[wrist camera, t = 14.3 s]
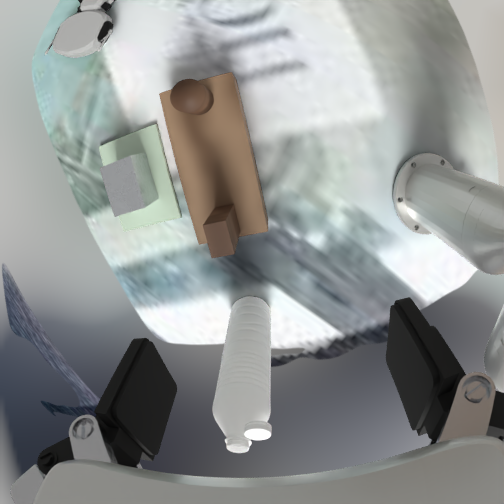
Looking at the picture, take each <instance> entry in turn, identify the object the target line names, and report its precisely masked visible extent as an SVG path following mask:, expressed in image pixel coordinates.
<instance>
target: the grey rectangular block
mask: <svg viewBox="0 0 504 504" xmlns="http://www.w3.org/2000/svg"><path fill="white" fill-rule="evenodd" d="M100 171H101V174H102V178H103V181H104V185H105V188H106V191H107V194H108V198H109V201H110V204H111V207H112V210H113V213H114V216H115V217H116V216H119V215H122V214H126V213H129V212H132V211H136V210H139V209H142V208H146V207H147V206H148V205H150V204H151V203H153V202H155V201H156V200H158V199H159V197H158V193H157V190H156V187H155V183H154V180H153V176H152V173H151V169H150V166H149V162H148V158H147V155H146V152H145V153H140V154H136V155H131V156H128V157H125V158H123V159H120V160H118V161H115V162H113V163H111V164H108V165H106V166H103V167H101V168H100Z"/></svg>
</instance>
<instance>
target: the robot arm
mask: <svg viewBox="0 0 504 504" xmlns="http://www.w3.org/2000/svg"><path fill="white" fill-rule="evenodd" d="M411 164H412V166H411ZM398 198H399V199H398ZM393 202H394V207H395V210H396V213H397V215H398V217H399V219H400V220H401V222H402V223H403V224H404V225H405V226H406V227H408V228H409V229H410V230H412V231H413V232H415V233H419V234H431V233H432V234H434V235H435V236H437V237H438V238H439V239H441V240H442V241H443V242H444V243H446V244H447V245H448V246H450V247H451V248H452V249H453V250H455V251H456V252H457V253H459V254H460V255H461V256H462V257H463V258H465V259H466V260H467V261H468V262H470V263H471V264H472V265H473V266H475V267H476V268H477V269H479V270H480V271H482V272H484V273H486V274H491V275H499V274H504V187H503V186H500V185H497V184H495V183H492V182H489V181H486V180H483V179H481V178H478V177H475V176H472V175H469V174H466V173H462V172H459V171H456V170H454V168H453V167H452V165H451V164H450V163H449V162H448V161H447V160H446V159H445V158H443V157H441V156H439V155H436V154H432V153H421V154H418V155H415V156H413V157H412V158H410V159H409V160H408V161H407V162H406V163H405V164H404V165H403V166H402V168H401V169H400V171H399V173H398V175H397V177H396V180H395V183H394V190H393ZM386 362H387V365H388V367H389V370H390V372H391V375H392V377H393V380H394V382H395V385H396V387H397V390H398V392H399V395H400V398H401V401H402V403H403V406H404V409H405V411H406V414H407V417H408V420H409V423H410V426H411V428H412V430H417V433H418V435H419V436H420V435H423V434H425V433H427V434H428V436H429V438H430V439H431V440H430V443H429V445H428V446H426V447H422V448H419V449H416V450H412V451H409V452H406V453H403V454H400V455H396V456H393V457H389V458H386V459H382V460H378V461H374V462H370V463H366V464H362V465H357V466H352V467H347V468H343V469H338V470H332V471H325V472H319V473H311V474H303V475H294V476H282V477H267V478H216V477H200V476H187V475H178V474H170V473H163V472H157V471H150V470H145V469H142V467H141V465H140V463H139V461H140V458H141V459H144V460H149V461H153V459H154V456H155V455H157V454H158V452H159V449H160V445H161V442H162V438H163V435H164V432H165V428H166V425H167V422H168V418H169V415H170V412H171V408H172V405H173V402H174V398H175V395H176V392H177V385H176V383H175V381H174V380H173V378H172V376H171V375H170V373H169V371H168V370H167V368H166V366H165V364H164V363H163V360H162V359H161V357H160V355H159V353H158V352H157V350H156V348H155V346H154V344H153V343H152V342H151V341H149V340H148V339H147V338H141V339H133V341H132V342H131V344H130V346H129V348H128V349H127V351H126V353H125V354H124V356H123V358H122V360H121V362H120V364H119V366H118V367H117V369H116V371H115V373H114V375H113V377H112V378H111V380H110V382H109V384H108V386H107V388H106V390H105V392H104V394H103V396H102V397H101V399H100V401H99V403H98V405H97V407H96V409H95V411H94V412H95V413H96V417H95V418H94V417H93V416H91V415H83V416H80V417H78V418H77V419H76V420H75V421H74V422H73V423H72V425H71V426H70V430H69V436H70V437H68V438H66V439H64V440H62V441H60V442H58V443H56V444H54V445H52V446H50V447H48V448H46V449H45V450H43V451H42V452H41V453H40V455H39V457H38V466H37V465H34V466H32V467H31V468H30V469H29V470H28V471H27V472H26V473H24V475H22V476H21V477H20V478H19V479H18V480H17V481H15V482H14V483H13V485H12V487H11V496H12V499H13V501H14V503H15V504H504V305H503V308H502V310H501V313H500V315H499V317H498V320H497V323H496V325H495V327H494V329H493V331H492V334H491V336H490V338H489V341H488V344H487V346H486V349H485V354H484V367H485V371H486V374H487V375H486V374H484V373H481V372H473V373H469V374H467V375H466V374H465V372H464V370H463V369H462V367H461V366H460V364H459V362H458V361H457V359H456V358H455V356H454V354H453V353H452V351H451V350H450V348H449V347H448V345H447V344H446V342H445V340H444V339H443V338H442V336H441V334H440V333H439V332H438V330H437V329H436V328H435V327H434V326H430V325H429V323H428V322H427V321H426V319H425V318H424V316H423V315H422V313H421V312H420V310H419V309H418V308H417V306H416V305H415V303H414V302H413V301H412V299H411V298H409V297H408V298H404V299H400V300H396V301H395V303H394V305H392V306H391V308H390V321H389V333H388V342H387V351H386ZM495 387H496V388H497V389H498V390H499V391H501V392H499V391H495Z"/></svg>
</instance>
